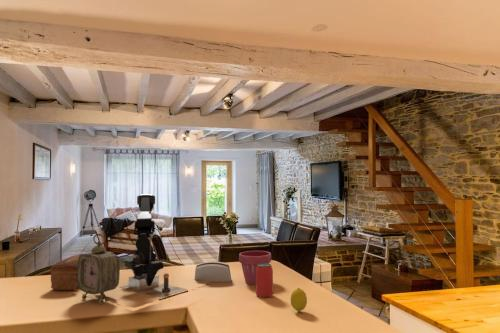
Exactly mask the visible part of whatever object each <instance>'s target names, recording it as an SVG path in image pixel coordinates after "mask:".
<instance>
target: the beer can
mask: <svg viewBox="0 0 500 333" xmlns="http://www.w3.org/2000/svg"><path fill="white" fill-rule="evenodd" d="M273 279H274V269H273V267H272V264H271V263H269V264H268V263H261V264H258V265H257V268H256V285H255V294H256V297H258V298H260V299H261V298H262V299H267V298H268V299H269V298H271V297H273V296H274V280H273Z"/></svg>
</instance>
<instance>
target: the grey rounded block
mask: <svg viewBox="0 0 500 333" xmlns="http://www.w3.org/2000/svg"><path fill="white" fill-rule="evenodd" d="M194 269H195V271H194V280H195V281H200V282H204V281H205V283H207V282H206V281H210V282H209V283H211V281H220V282H223V283H224V282H225V283H226V282H227V283H229V282H232V275H231V268H230V265H229V264H228V263H226V262H222V261H206V262H205V261H204V262H200V263H198V264H196V266H195V268H194ZM220 282H219V283H220Z"/></svg>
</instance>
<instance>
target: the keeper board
mask: <svg viewBox="0 0 500 333" xmlns="http://www.w3.org/2000/svg"><path fill="white" fill-rule="evenodd" d="M162 277H163V283H161V282H159V285H155V286H152V287H148V288H144V289H141V290H137V289H133V288H129V284H126V285H123V286H119V288H121V289H124V290H128V291H132V292H138V293H141V294H145V295H148V296H152V297H157V298H159V299H158V300H159V301H162V300H166V299H169V298H173V297H175V296H177V295H178V296H179V295H182V294H185V293H188V292H189V290H188V288H185V287H181V286H180V287H179V286H175V285H170V284H169V282H170V281H169V277H170V275H169V273H167V272H165V273H164V274H163V276H162Z"/></svg>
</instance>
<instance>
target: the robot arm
mask: <svg viewBox="0 0 500 333" xmlns="http://www.w3.org/2000/svg"><path fill="white" fill-rule="evenodd" d="M136 204H137V205H138V208H139V209H138V210H139V213H138V214H137V215H136V220H134V231H133V235H134V236H135V235H137V236H136V240H135V247H136V249H135V250H134V251H133V254H132V255H130V256H128V257H127V258H125V259H124V266H125V267H126V268H127V269H130V270H131V272H132V273H133V276H138V275H142V274H146V273H147V280H148V286H151V284H152V282H153V279H154V277H155V275H158V272H159V271H160V270H164V262H163V261H160V260H157V254H156V253H155V251H154V247H153V245H152V236H151V235H154V233H155V232H156V231H155V230H156V229H155V228H156V224H155V223H156V222H155V220H154V219H153V216H152V214H151V213H152V212H153V210H154V208H155V205H156V195H153V194H150V193H141V194H140V195H137V197H136Z"/></svg>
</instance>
